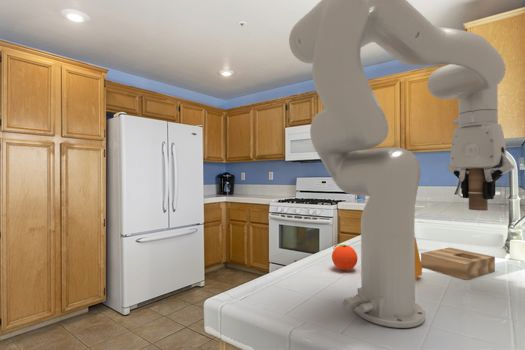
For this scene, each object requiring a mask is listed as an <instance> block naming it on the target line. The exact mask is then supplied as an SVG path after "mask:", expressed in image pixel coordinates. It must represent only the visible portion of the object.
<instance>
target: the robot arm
mask: <svg viewBox="0 0 525 350" xmlns="http://www.w3.org/2000/svg"><path fill="white" fill-rule="evenodd" d="M288 42H289V43H288V44H289V48H290V52H291V53H292V54H293V56H294V58H296V59H297V60H299V61H300V62H302V63H306V64H312V72H311V73H312V80H313V85H314V88H315V91H316V93H317V95H318V97H319V99H320V102H321V103H322V105H323V107H324V109H322V110H320V111H319V112H318V113H316V115H314V117H313V119H312V120H311V123H310V132H309V133H310V140H311V144H312V145H313V148H314V150H315V152H316V153H317V155H318V157H319V159H320V160H321V162H322V164H323V165H324V167H325V169H326V171H327V172H328V174H329V175H330V177H331V178H332V180H333V182H334V183H335V184H336V186H337V187H338V188H339V189H340V190H341V192H344V193H346V194H349V195H353V196H364V197H368V199H367V201H366V203H365V205H364V207H363V210H362V213H361V216H360V252H361V255H360V260H361V261H360V262H361V263H360V267H361V269H360V270H361V272H360V274H361V277H360V278H361V285H360V286H361V287H358V288H357V294H355V295H354V297H347V298H344V299H343V301H342V306H343V308H344V309H345V310H347V311H350V310H354V312H355V313H356V314H357V315H358V316H359V317H360V318H362V319H364V320H366V321H368V322H370V323H373V324H375V325H379V326H385V327H388V328H389V327H390V328H398V329H399V328H401V329H405V328H414V327H415V328H416V327H418V326H420V325H421V324H423V323H424V321H425V320H426V319H425V318H426V317H425V315H426V313H425V311H424V309H423V308H422V307H421V305H419V304H418V303H416V281H415V238H416V236H415V235H416V234H415V220H416V219H415V217H416V216H415V213H416V200H417V197H418V196H417V194H418V189H419V185H420V180H421V174H422V173H421V172H422V171H421V165H420V162H419V160H418V158H417V156H416V155H415V154H414V153H412V151H410V150H408V149H405V148H402V147H396V146H395V147H394V146H391V147H389V146H387V147H380V148H379V147H377V146H380V145H381V144H383V142H384V141H386V140H387V137H388V134H389V123H388V120H387V117H386V115H385V113H384V111H383V108H382V106H381V104H380V102H379V100H378V98H377V96H376V94H375V92H374V91H373V89H372V86H371V84H370V82H369V80H368V78H367V76H366V74H365V73H366V72H364V69H363V66H362V60H361V49H362V48H363V47H365V46H367V45H369V44H371V43H375V44H376V45H378V46H379V47H380V48H381V49H383V50H385V52H387V53H388V54H390V55H391V56H392V57H393V58H395V59H396V60H397V61H398V62H400V63H401V64H403V65H406V66H432V65H444V66H441V67H439V68H436V69H435V70H433V71H432V72H431V74H430V75H429V77H428V79H427V82H426V85H427V90H428V91H429V93H430V94H431V95H432V96H433V97H435V98H436V99H440V100H458V116H457V119H454V120H453V125H454V126H457V128H454V130H453V131H454V132H453V135H452V140H451V146H450V147H451V148H450V162H449V165H447V168H446V170H447V171H448V172H450V173H452V174H453V175H454V176H455V177H456V178H457V179H458V181H459V182H461V183H460V184H461V185H460V186H461V188H460V189H461V195H462V198H463V199H469V193H468V192H469V168H484V173H485V178H486V182H483V199H488V200H493V199H495V197H494V196H496V182H498V181H499V179H500V178H502V177H503V176H504V175H505V174H506V173H509V172H511V171H512V170H514V168H515V166H514V165H513V164H512V162H511V161H510V159H509V158H508V157H507V149H506V148H507V147H506V141H505V135H504V131H503V127H502V124H500V123H498V122H499V121H498V120H499V117H498V115H499V114H498V113H499V111H498V108H499V107H498V106H499V105H498V104H499V103H498V85H499V84H500V83H502V81H503V79H504V78H505V75H506V64H505V60H504V58H503V57H502V55H501V54H500V53H499V51H498V50H497V49H496V48H495V47H494V46H493V45H492V44H491V43H490V41H488V40H487V39H486V38H485V37H483V36H482V35H480V34H478V33H476V32H475V33H474V32H472V31H471V32H470V31H467V30H461V29H458V28H457V29H456V28H451V27H444V26H443V27H441V26H436V25H434V24H433V23H431V21H430V20H429V19H428V18H426V17H425V16H424V15H423V14H422V13H421V12H420V11H419V10H417V9H416V8H415V7H414V6H413V4H412V3H410V2H409V1H408V0H320V1H319V2H318V3H317V4H315V6H314V7H313V8H311V10H310V11H308V12H307V13H306V14H305V15H303V17H301V18H300V19H299V20H298V21H297V22H296V23H295V25H294V26H293V27H292V29H291V30H290V33H289V38H288ZM376 147H377V148H376Z"/></svg>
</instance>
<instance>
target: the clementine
mask: <svg viewBox="0 0 525 350" xmlns="http://www.w3.org/2000/svg"><path fill="white" fill-rule="evenodd" d="M331 259H332V263H333V265H334V266H335V267H336V268H337V269H338V270H341V271H351V270H352V269H353V268H355V267H356V265H357V263H358V260H359V259H358V254H357V252H356V250H355V248H353V247H352V246H350V245H347V244H337V245H335V246H334V247H333V250H332V253H331Z"/></svg>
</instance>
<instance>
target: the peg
mask: <svg viewBox="0 0 525 350" xmlns="http://www.w3.org/2000/svg"><path fill="white" fill-rule="evenodd" d="M483 182H486V178H485V173H484V168H469V192H468V193H469V198H468V210H469V211H488V209H489V208H488V205H489V204H488V202H489V201H488V200H489V199H483Z"/></svg>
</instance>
